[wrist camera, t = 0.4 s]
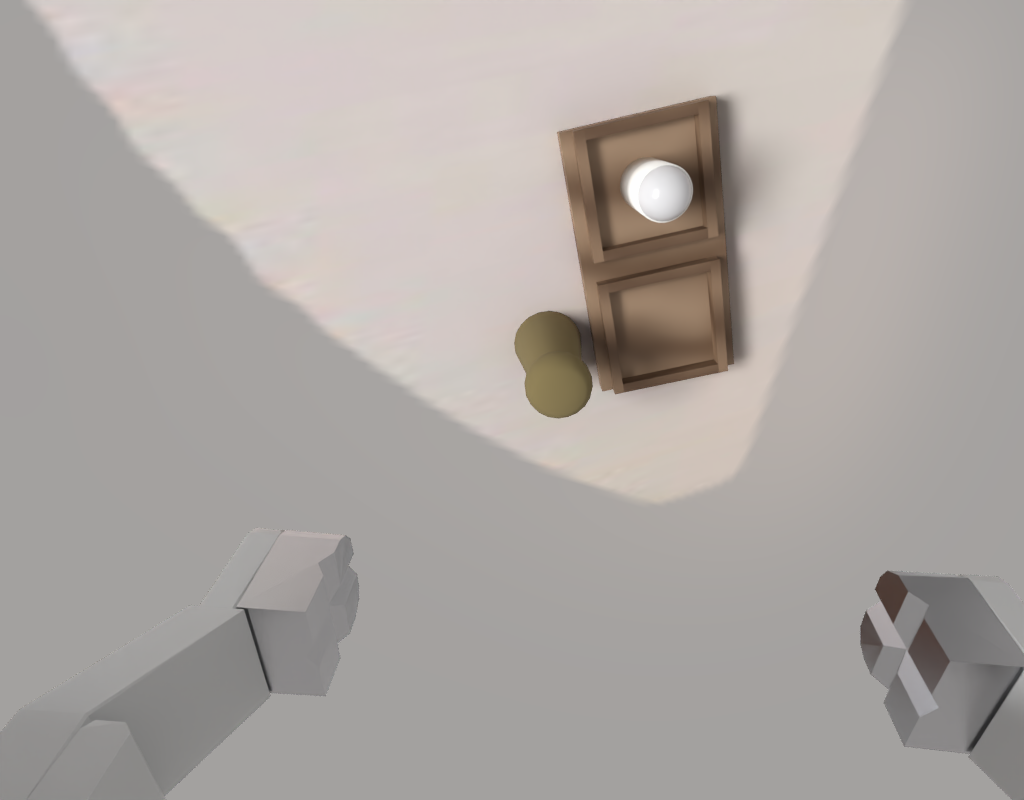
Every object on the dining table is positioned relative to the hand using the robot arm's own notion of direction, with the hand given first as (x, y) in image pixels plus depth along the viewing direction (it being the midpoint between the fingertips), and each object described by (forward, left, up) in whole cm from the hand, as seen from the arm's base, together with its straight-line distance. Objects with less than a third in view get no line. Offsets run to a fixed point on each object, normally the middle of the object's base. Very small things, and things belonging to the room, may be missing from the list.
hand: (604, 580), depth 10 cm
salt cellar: (+1, +11, -44) cm, 45 cm away
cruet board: (+7, +11, -46) cm, 47 cm away
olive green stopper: (+13, +1, -46) cm, 48 cm away
